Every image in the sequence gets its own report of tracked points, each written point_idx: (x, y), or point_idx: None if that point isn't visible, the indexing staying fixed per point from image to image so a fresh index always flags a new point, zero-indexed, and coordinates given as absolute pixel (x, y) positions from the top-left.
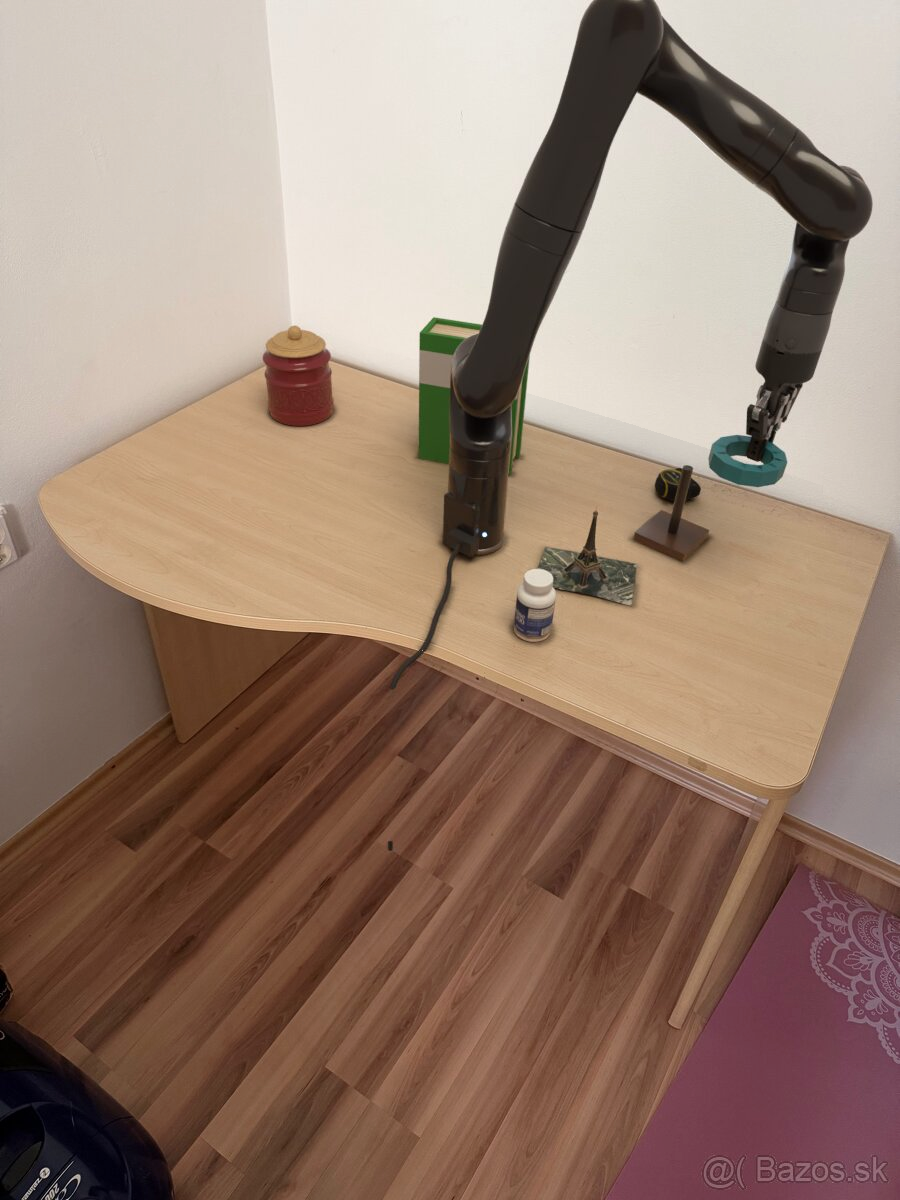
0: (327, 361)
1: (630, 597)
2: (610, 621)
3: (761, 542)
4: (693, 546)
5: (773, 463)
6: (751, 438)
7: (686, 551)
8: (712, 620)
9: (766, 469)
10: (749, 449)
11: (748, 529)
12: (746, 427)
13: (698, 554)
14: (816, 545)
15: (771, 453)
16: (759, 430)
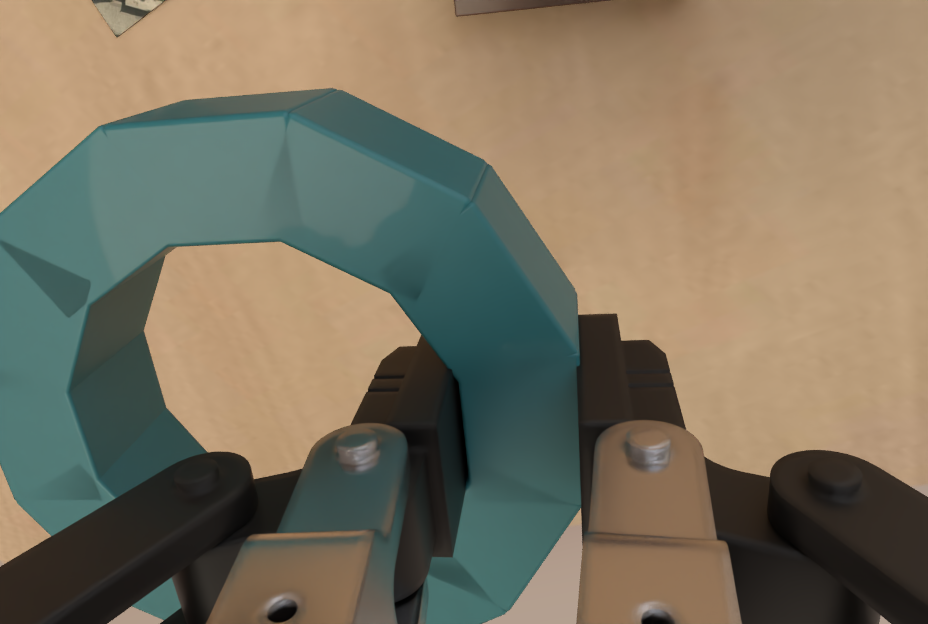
0: None
1: (141, 8)
2: (11, 36)
3: (807, 170)
4: (540, 7)
5: None
6: (397, 402)
7: (479, 11)
8: (279, 262)
9: (171, 604)
10: (372, 383)
11: (870, 85)
12: (57, 535)
13: (552, 32)
14: (923, 324)
15: None
16: (192, 620)
